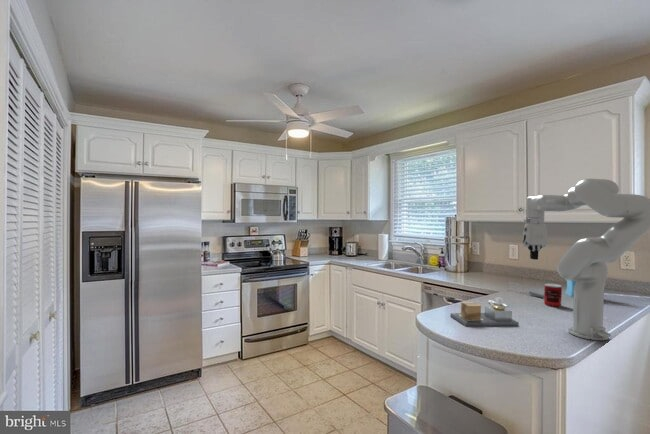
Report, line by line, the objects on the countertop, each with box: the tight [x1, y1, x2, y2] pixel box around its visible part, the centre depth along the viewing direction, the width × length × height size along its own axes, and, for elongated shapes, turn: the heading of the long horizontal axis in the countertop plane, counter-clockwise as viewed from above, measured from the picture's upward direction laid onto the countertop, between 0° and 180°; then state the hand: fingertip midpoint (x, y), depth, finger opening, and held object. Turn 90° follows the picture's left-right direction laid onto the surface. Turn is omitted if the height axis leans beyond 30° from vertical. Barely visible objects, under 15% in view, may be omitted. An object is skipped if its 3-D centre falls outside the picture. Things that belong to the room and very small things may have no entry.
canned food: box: [543, 283, 563, 308], centre depth 180 cm, size 8×8×11 cm
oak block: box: [460, 301, 482, 319], centre depth 149 cm, size 6×6×6 cm
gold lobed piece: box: [491, 304, 506, 310], centre depth 150 cm, size 5×5×5 cm
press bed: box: [450, 305, 520, 327], centre depth 150 cm, size 14×24×6 cm, turn 95°
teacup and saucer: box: [487, 296, 508, 308], centre depth 179 cm, size 9×8×4 cm
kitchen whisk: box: [505, 281, 544, 299], centre depth 203 cm, size 6×33×6 cm, turn 23°
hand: (534, 259), depth 161 cm, fingers closed
